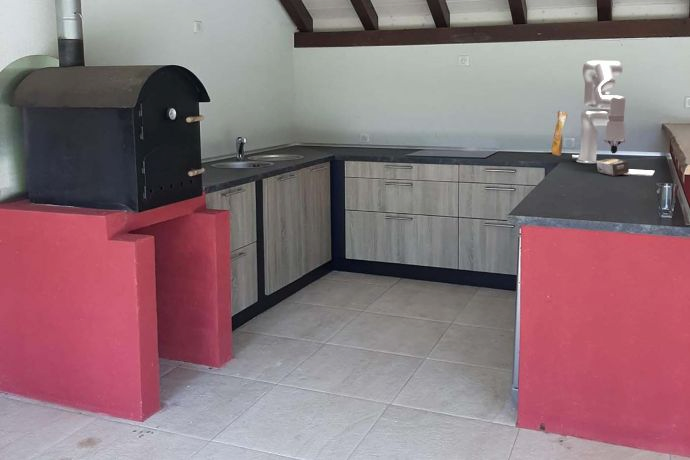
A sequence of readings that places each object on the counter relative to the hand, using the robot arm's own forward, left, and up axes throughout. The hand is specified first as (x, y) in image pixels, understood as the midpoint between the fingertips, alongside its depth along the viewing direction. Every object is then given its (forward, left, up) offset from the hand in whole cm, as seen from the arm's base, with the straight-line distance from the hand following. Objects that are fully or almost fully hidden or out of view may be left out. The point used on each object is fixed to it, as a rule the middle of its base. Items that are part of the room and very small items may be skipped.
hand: (613, 153), depth 400 cm
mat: (+11, 0, -10) cm, 15 cm away
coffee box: (-4, -3, -6) cm, 8 cm away
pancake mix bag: (-44, +71, -10) cm, 84 cm away
